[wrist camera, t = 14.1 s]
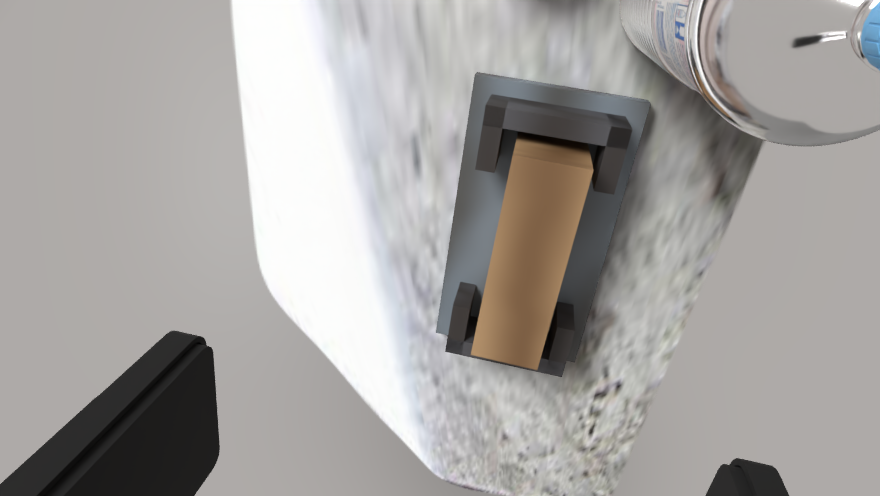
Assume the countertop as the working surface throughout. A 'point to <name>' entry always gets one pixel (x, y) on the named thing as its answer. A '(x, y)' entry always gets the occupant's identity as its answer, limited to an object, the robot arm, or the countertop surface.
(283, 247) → the countertop surface
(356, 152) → the countertop surface
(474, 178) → the dark grey holder
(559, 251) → the tan brown block
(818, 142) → the water bottle
